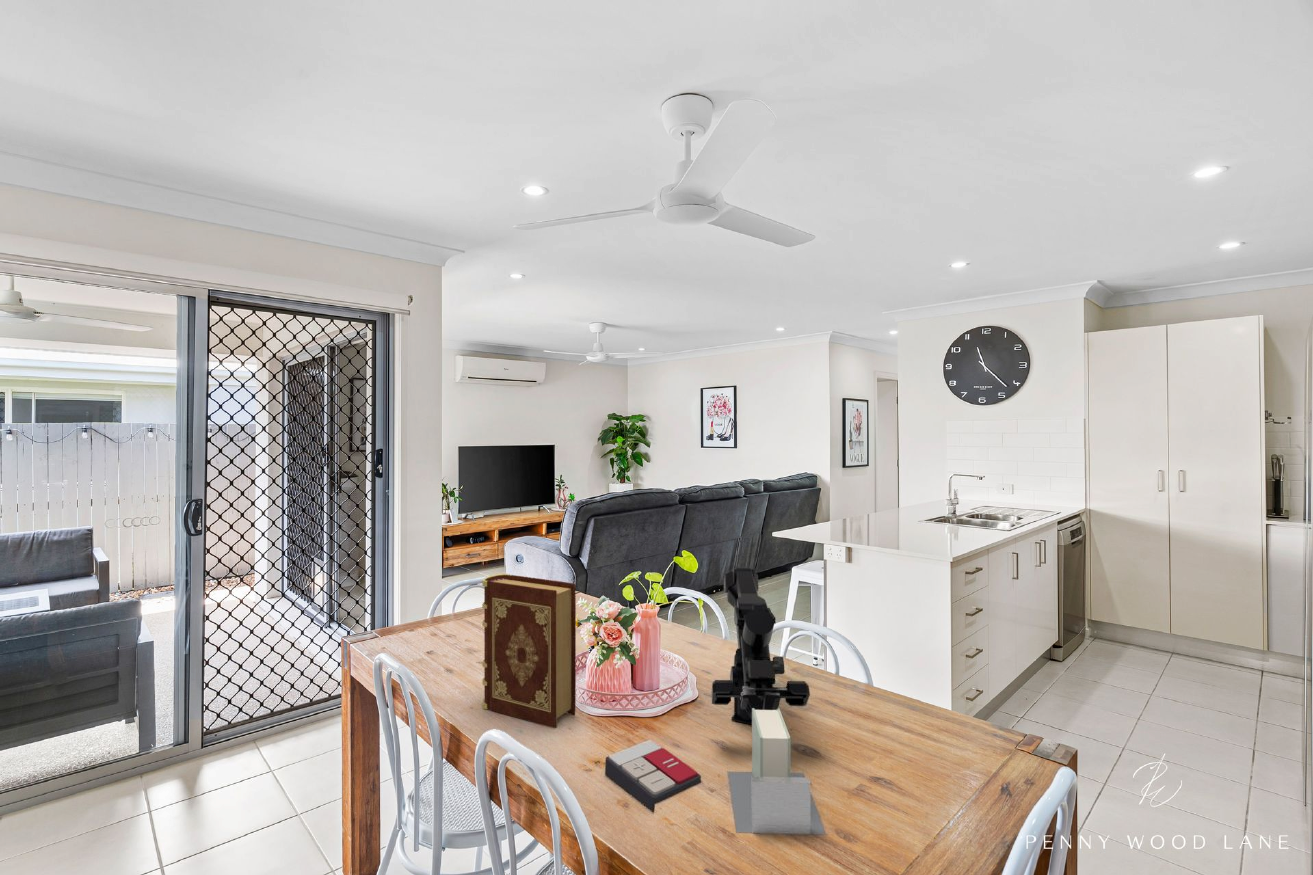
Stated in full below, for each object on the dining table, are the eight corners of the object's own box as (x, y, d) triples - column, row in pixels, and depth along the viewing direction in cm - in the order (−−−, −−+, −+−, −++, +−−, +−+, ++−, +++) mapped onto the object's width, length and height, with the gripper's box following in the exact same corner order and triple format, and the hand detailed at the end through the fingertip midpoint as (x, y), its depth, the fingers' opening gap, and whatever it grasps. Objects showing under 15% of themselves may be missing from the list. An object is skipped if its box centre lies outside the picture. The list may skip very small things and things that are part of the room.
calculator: (654, 793, 104) (604, 753, 115) (653, 818, 104) (604, 775, 115) (702, 771, 110) (650, 735, 122) (701, 794, 111) (650, 756, 122)
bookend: (751, 826, 98) (751, 776, 98) (808, 827, 97) (808, 777, 97) (752, 832, 96) (752, 781, 96) (810, 834, 96) (810, 782, 96)
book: (752, 773, 113) (752, 708, 113) (779, 773, 113) (779, 708, 113) (760, 809, 102) (760, 737, 102) (790, 810, 102) (790, 737, 102)
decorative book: (477, 707, 144) (477, 579, 144) (500, 694, 151) (500, 572, 151) (554, 729, 133) (554, 590, 133) (576, 714, 140) (576, 582, 140)
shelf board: (727, 779, 114) (727, 771, 114) (803, 780, 113) (803, 772, 113) (736, 841, 96) (736, 832, 96) (826, 843, 96) (826, 834, 96)
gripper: (712, 639, 121) (715, 721, 110) (807, 640, 120) (820, 722, 109) (710, 664, 129) (713, 743, 118) (799, 665, 128) (811, 745, 117)
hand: (763, 738), depth 115 cm, fingers closed
